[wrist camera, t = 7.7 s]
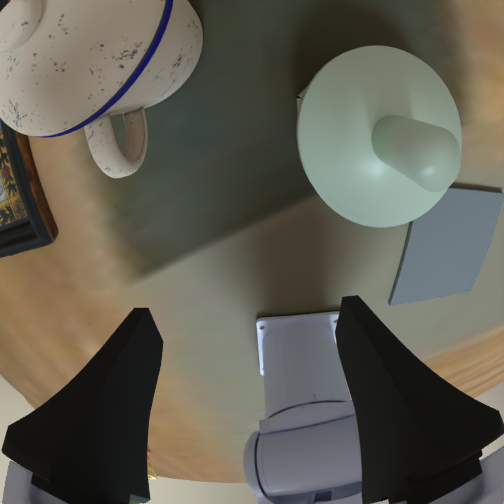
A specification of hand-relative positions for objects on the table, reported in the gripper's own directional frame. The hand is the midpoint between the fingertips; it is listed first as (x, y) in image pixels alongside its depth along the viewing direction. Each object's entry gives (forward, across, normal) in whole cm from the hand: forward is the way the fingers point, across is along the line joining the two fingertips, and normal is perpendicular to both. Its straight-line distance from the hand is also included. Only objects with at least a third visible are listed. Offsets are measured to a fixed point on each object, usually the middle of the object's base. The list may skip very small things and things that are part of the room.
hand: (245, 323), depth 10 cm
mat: (+10, -19, +4) cm, 22 cm away
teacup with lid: (+11, +6, -10) cm, 16 cm away
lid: (+7, -8, -5) cm, 12 cm away
